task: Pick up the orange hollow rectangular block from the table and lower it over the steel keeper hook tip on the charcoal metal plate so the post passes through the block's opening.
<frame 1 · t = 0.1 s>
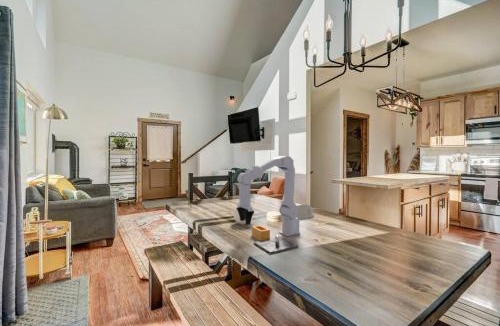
hand: (245, 222, 130), 10 cm above the table, tool pointing down, fingers open, 7 cm apart
geodesic sphere: (243, 223, 164), on the table
keeper plate: (275, 245, 124), on the table
orange hollow rectangular block: (260, 237, 137), on the table
grey stone: (301, 217, 179), on the table
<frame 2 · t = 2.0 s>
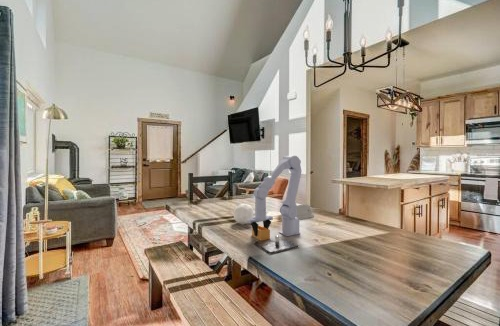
hand: (260, 234, 137), 1 cm above the table, tool pointing down, fingers closed on orange hollow rectangular block, 5 cm apart
orange hollow rectangular block: (260, 237, 137), on the table, touching gripper
everything else where it was.
when the fingers open (4 cm above the table, at t = 5.6 s): orange hollow rectangular block drops 2 cm, resting on keeper plate.
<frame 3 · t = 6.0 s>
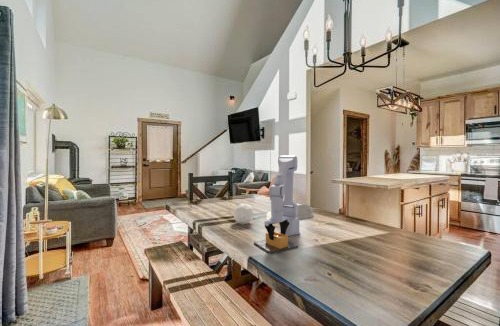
hand: (277, 237, 122), 4 cm above the table, tool pointing down, fingers open, 7 cm apart
orange hollow rectangular block: (276, 244, 123), point 1 cm above the table, touching keeper plate
everything else where it was.
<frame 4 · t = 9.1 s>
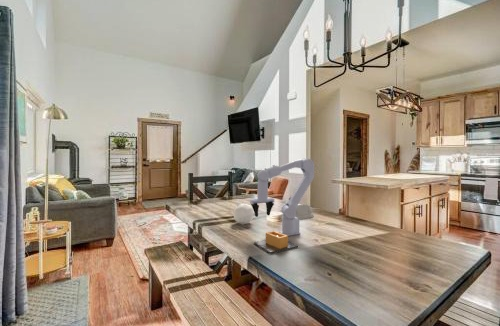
hand: (262, 215, 142), 10 cm above the table, tool pointing down, fingers open, 7 cm apart
nothing on the table moved.
at the end: orange hollow rectangular block 0.5 cm from the target spot on the keeper plate, point 1.0 cm above the keeper plate's base; orange hollow rectangular block tilted 0°; the gripper is holding nothing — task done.
